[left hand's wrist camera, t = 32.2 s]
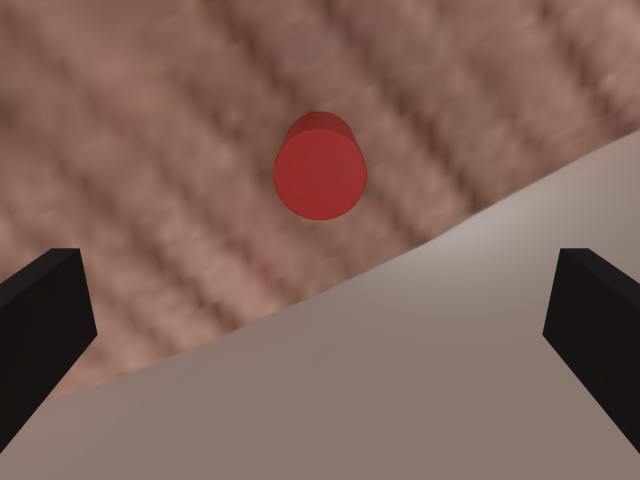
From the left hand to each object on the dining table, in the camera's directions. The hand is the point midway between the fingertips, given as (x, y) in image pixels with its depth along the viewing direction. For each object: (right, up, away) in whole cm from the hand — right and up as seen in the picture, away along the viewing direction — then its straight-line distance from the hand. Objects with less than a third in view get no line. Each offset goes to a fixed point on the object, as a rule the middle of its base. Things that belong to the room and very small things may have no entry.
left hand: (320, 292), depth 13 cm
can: (0, +8, +22) cm, 24 cm away
